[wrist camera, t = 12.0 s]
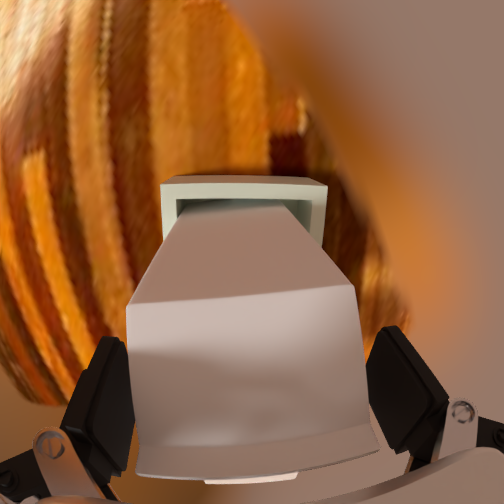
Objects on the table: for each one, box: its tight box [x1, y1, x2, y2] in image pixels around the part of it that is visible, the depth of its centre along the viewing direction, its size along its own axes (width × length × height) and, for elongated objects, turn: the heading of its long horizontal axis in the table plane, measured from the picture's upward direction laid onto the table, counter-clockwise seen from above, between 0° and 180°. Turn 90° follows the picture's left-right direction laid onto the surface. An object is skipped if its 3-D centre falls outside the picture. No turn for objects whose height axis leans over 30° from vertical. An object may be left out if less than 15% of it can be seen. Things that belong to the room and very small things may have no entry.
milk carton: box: [126, 198, 380, 480], centre depth 15 cm, size 7×7×19 cm
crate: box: [160, 175, 328, 248], centre depth 24 cm, size 21×11×5 cm, turn 178°
